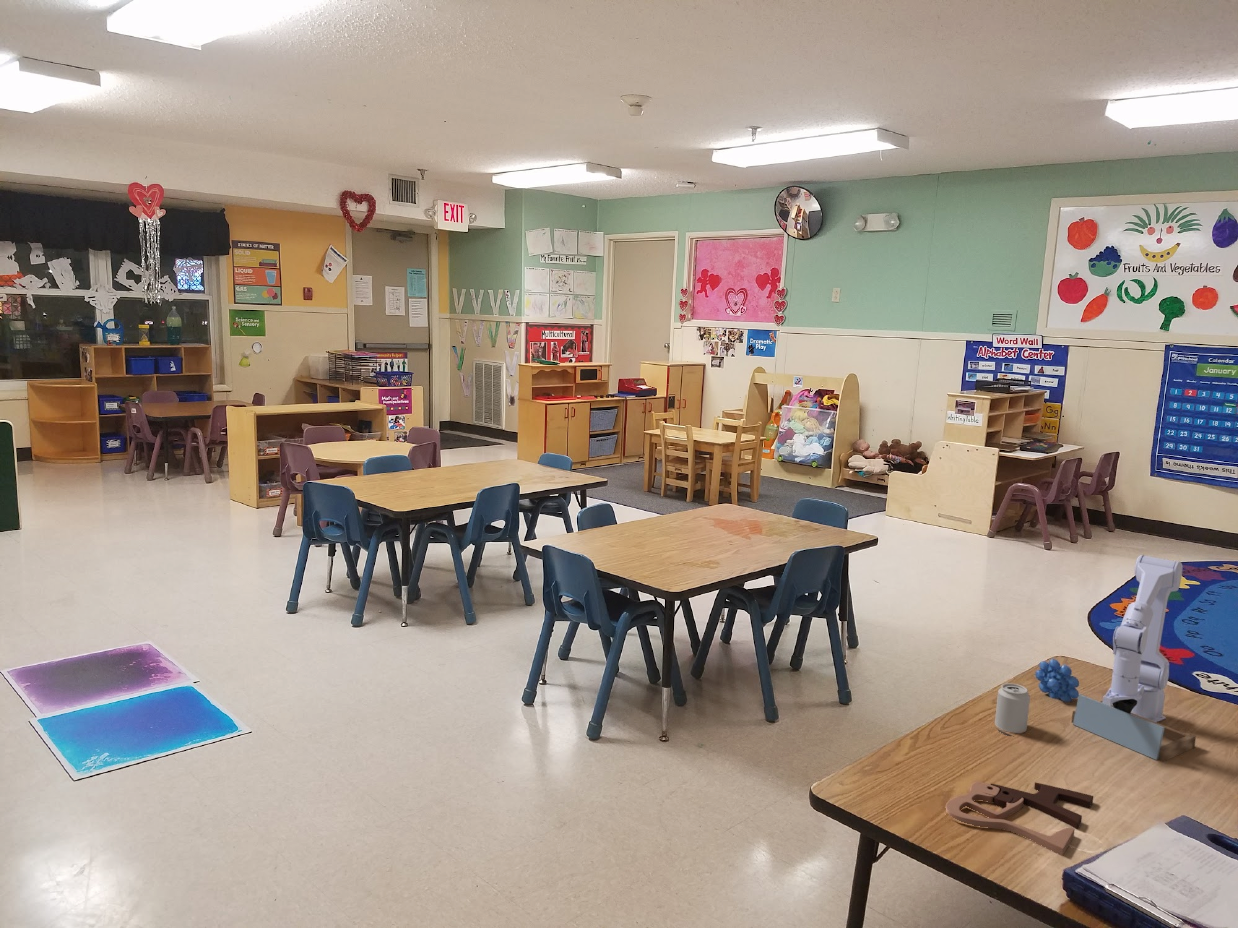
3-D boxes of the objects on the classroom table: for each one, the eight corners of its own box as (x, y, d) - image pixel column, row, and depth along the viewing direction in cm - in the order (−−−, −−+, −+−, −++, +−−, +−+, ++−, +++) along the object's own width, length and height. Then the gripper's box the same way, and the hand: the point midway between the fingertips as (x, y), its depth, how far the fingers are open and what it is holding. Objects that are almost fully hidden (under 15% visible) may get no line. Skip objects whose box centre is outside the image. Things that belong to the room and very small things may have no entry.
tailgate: (1074, 723, 232) (1080, 694, 231) (1157, 759, 214) (1164, 727, 214) (1072, 724, 232) (1078, 694, 231) (1156, 759, 214) (1162, 727, 213)
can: (1020, 725, 234) (1024, 682, 232) (1030, 739, 227) (1035, 694, 224) (990, 723, 235) (994, 680, 233) (999, 737, 227) (1004, 692, 225)
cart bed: (1102, 715, 241) (1104, 699, 240) (1193, 752, 221) (1196, 735, 220) (1070, 727, 233) (1072, 711, 233) (1162, 766, 214) (1164, 749, 213)
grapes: (1027, 699, 250) (1031, 658, 248) (1035, 692, 255) (1040, 652, 252) (1072, 713, 242) (1077, 671, 240) (1080, 705, 247) (1084, 664, 245)
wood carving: (1092, 804, 198) (982, 768, 213) (1093, 795, 198) (983, 760, 212) (1059, 863, 177) (939, 818, 191) (1060, 853, 176) (940, 809, 191)
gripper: (1125, 686, 214) (1119, 739, 216) (1158, 673, 221) (1152, 724, 224) (1096, 675, 220) (1091, 727, 222) (1130, 663, 227) (1124, 713, 230)
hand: (1120, 725), depth 223 cm, fingers closed, pressing on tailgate
